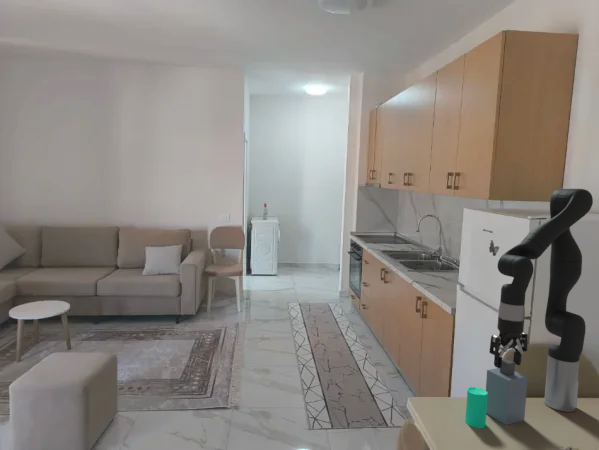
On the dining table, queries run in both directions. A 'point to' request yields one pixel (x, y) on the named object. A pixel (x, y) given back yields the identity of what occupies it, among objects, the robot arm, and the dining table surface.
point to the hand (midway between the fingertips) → (507, 365)
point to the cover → (506, 393)
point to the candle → (476, 407)
